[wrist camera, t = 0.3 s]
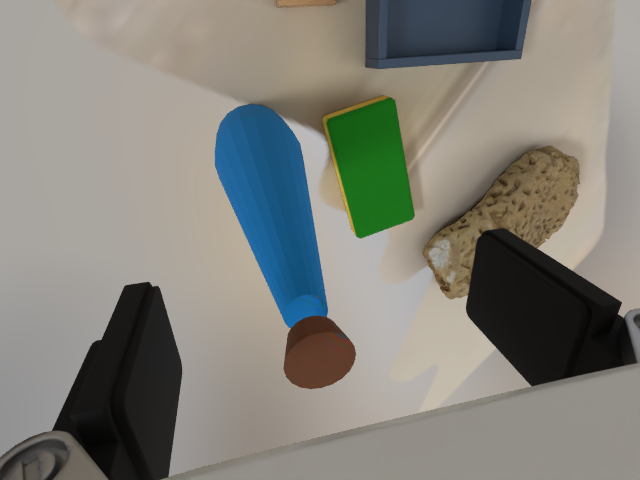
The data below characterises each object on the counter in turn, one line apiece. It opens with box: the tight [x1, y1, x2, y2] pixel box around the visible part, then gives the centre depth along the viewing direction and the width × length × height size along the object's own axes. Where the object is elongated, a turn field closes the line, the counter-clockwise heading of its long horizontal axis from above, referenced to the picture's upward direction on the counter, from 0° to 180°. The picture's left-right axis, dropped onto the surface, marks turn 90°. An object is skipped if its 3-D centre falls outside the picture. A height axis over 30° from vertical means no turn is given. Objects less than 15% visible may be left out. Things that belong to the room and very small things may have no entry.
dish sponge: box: [322, 96, 415, 238], centre depth 41 cm, size 7×14×2 cm, turn 16°
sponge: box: [423, 146, 580, 299], centre depth 45 cm, size 13×8×20 cm
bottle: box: [215, 104, 356, 389], centre depth 25 cm, size 7×7×30 cm
